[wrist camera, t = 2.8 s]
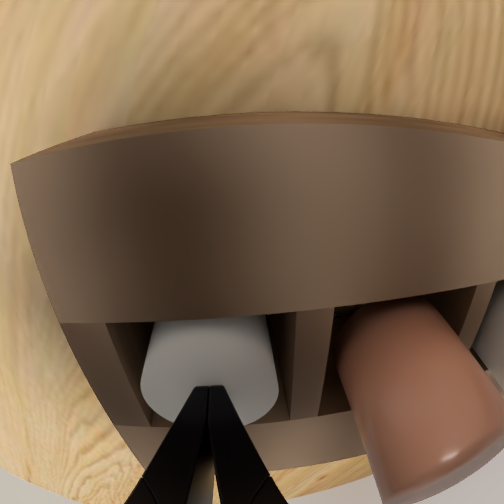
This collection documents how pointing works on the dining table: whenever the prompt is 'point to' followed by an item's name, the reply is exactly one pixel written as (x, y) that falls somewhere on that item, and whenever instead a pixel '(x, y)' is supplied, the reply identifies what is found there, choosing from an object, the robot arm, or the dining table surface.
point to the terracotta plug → (416, 398)
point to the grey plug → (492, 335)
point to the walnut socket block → (261, 248)
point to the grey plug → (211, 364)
